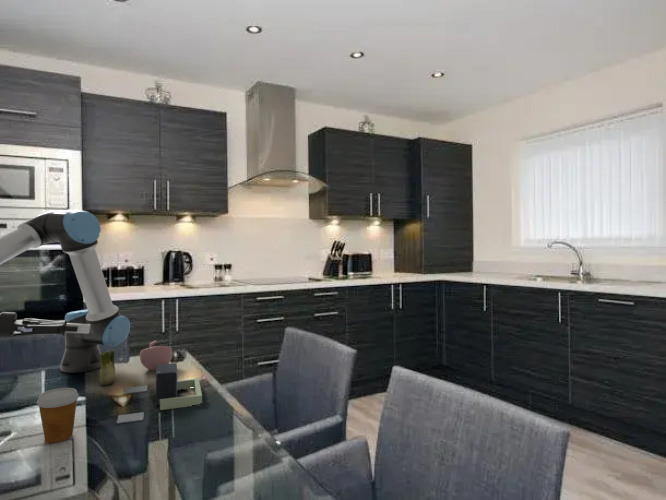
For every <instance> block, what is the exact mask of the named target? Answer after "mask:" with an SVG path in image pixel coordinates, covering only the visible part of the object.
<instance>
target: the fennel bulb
mask: <svg viewBox="0 0 666 500" xmlns="http://www.w3.org/2000/svg"><path fill="white" fill-rule="evenodd" d="M100 356H101V367H100V368H99V369H100V370H99V384H100V385H101V386H109V385H112V384H114V383H115V381H116V365H115V350H107V351H104V352H103V353H102V352H101V354H100Z"/></svg>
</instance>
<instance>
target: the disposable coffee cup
mask: <svg viewBox="0 0 666 500" xmlns="http://www.w3.org/2000/svg"><path fill="white" fill-rule="evenodd" d="M79 395H80V394H79V393H78V390H77V389H76V388H73V387H60V388H54V389H50V390H47V391H46V390H45V391H44V392H42V393H41V394H39V395H38V399H37V400H36V404H37V405H38V409H39V415H40V419H41V425H42V431H43V438H44V442H45V443H47V444H57V443H61V442H64V441H67V440H69V439H70V438H72V437H73V434H74V426H75V417H76V410H77V403H78V402H77V401H78V399H79Z"/></svg>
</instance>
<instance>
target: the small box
mask: <svg viewBox="0 0 666 500" xmlns="http://www.w3.org/2000/svg"><path fill="white" fill-rule="evenodd" d="M155 371H156V373H155V406H160V399H166V398H174V397H178V395H177V394H178V390H177V381H178V364H177V363H176V362H175V363H173V362H172V363H169V364H158V366H157V370H155Z"/></svg>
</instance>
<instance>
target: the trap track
mask: <svg viewBox="0 0 666 500" xmlns="http://www.w3.org/2000/svg"><path fill="white" fill-rule="evenodd" d="M148 386H149V385H139V386H130V387H129V386H128V387H125V390H124V395H129V394H130V395H131V394H136V393H137V394H138V393H146V392H148ZM190 387H194V388H195V389H194V388H193V389H194V394H193V395H185V396H177V397H174V398H166V399H160V405H159V410H160V411H163V410H164V411H165V410H172V409H179V408H187V407H188V406H189V407H193V406H192V405H196V404H200V403H202V404H203V394H202V388H201V383H200V378H191V379H189V378H188V379H180V380H178V379H177V391H182V390H181V389H183V390H186V389H185V388H190ZM195 394H196V395H195ZM144 416H145V412H144V411H143V412H135V413H126V414H118V416H117V420H116V425H120V424H126V423H133V422H142V421H144Z"/></svg>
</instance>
